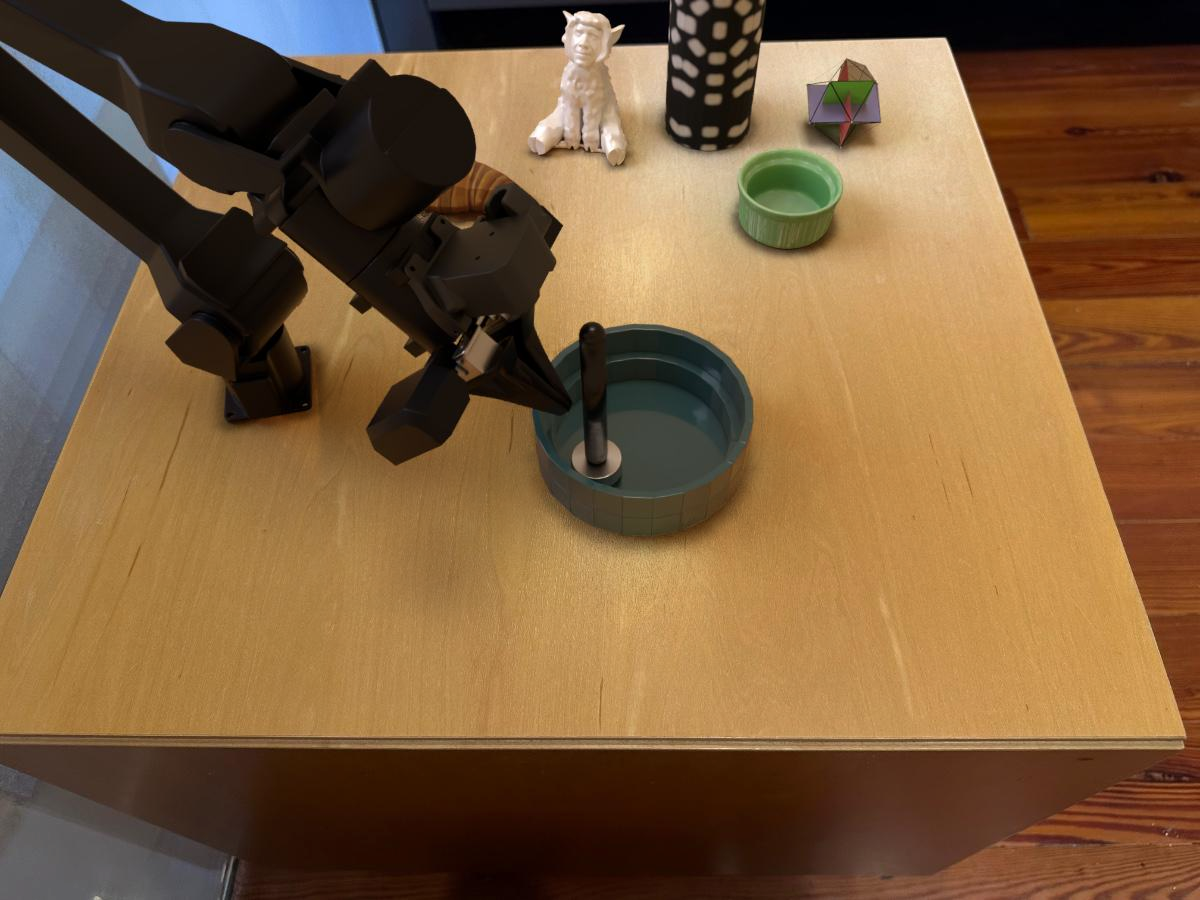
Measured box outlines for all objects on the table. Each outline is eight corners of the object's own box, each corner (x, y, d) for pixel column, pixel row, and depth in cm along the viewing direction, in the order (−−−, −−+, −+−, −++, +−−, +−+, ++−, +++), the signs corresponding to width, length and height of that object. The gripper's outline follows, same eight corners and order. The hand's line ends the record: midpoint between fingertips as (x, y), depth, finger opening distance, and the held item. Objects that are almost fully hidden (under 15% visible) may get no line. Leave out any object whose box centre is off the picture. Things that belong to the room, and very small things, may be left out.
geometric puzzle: (887, 147, 84) (895, 53, 82) (812, 148, 84) (818, 53, 82) (866, 148, 91) (873, 61, 89) (797, 148, 91) (802, 61, 89)
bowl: (523, 389, 71) (517, 341, 67) (713, 358, 73) (719, 309, 68) (556, 558, 63) (552, 516, 58) (771, 519, 64) (782, 475, 60)
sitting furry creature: (526, 155, 88) (515, 37, 78) (549, 103, 93) (541, -15, 83) (623, 168, 86) (624, 49, 77) (641, 114, 91) (644, -4, 81)
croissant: (367, 219, 83) (354, 174, 79) (388, 171, 87) (377, 126, 83) (514, 232, 82) (508, 187, 77) (528, 183, 85) (524, 137, 81)
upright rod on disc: (602, 440, 67) (598, 294, 55) (632, 472, 65) (635, 330, 53) (561, 464, 66) (548, 321, 53) (591, 498, 64) (584, 358, 52)
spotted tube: (752, 151, 88) (782, -66, 71) (665, 151, 88) (675, -65, 72) (746, 99, 92) (773, -115, 76) (663, 99, 93) (673, -115, 76)
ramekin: (774, 174, 86) (781, 134, 82) (854, 218, 82) (865, 178, 78) (712, 221, 82) (716, 181, 78) (792, 270, 78) (801, 230, 75)
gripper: (368, 310, 42) (602, 502, 49) (519, 82, 52) (695, 267, 59) (272, 380, 50) (484, 537, 57) (418, 171, 60) (583, 325, 67)
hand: (566, 410), depth 59 cm, fingers closed
